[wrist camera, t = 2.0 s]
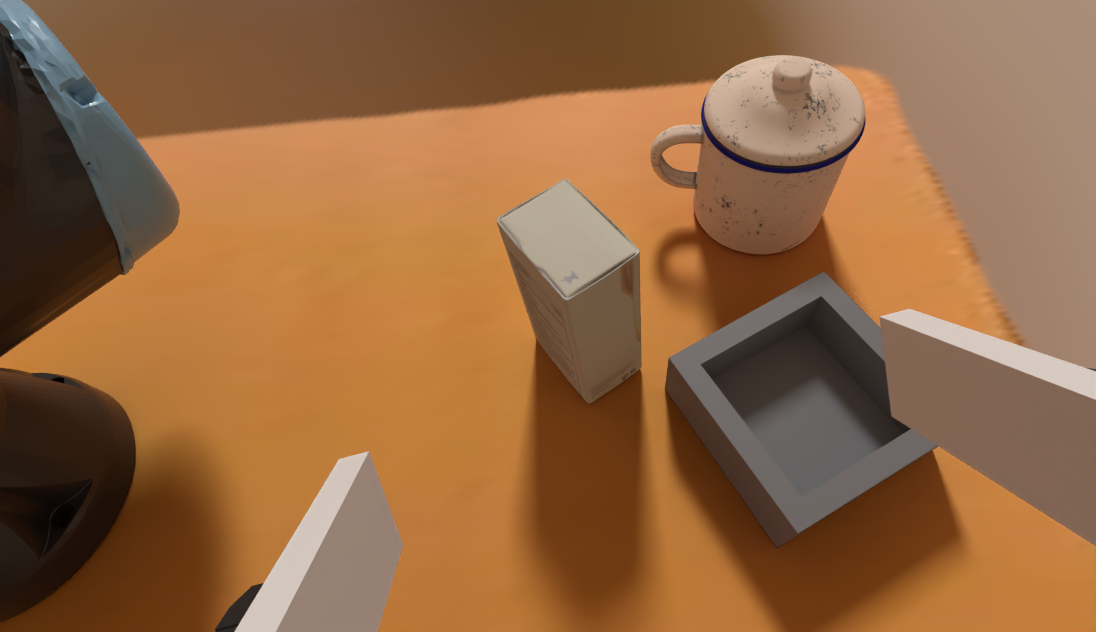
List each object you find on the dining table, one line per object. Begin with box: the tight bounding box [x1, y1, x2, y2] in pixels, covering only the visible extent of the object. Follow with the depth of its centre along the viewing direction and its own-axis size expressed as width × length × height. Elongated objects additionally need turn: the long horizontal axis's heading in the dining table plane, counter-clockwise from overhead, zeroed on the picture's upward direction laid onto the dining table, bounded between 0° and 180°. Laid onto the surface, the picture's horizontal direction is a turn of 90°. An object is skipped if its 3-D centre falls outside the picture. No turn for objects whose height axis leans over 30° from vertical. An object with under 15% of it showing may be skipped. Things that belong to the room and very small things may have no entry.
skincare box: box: [497, 179, 641, 404], centre depth 32 cm, size 6×4×12 cm
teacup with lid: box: [651, 55, 865, 254], centre depth 37 cm, size 12×9×12 cm
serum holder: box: [665, 271, 938, 548], centre depth 32 cm, size 10×10×4 cm
